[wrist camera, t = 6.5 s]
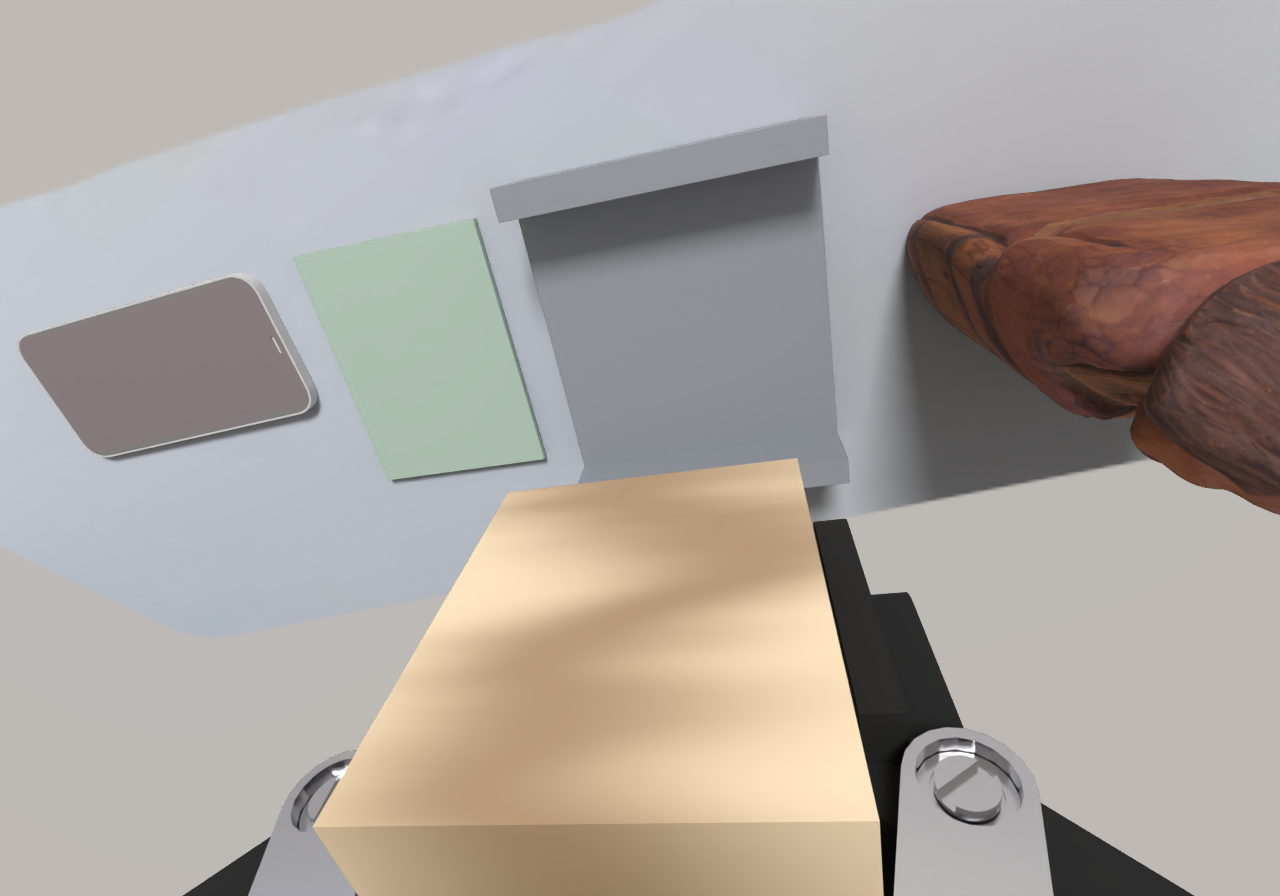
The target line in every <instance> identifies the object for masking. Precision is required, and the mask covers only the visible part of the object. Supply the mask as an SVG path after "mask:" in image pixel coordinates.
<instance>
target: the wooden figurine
mask: <svg viewBox="0 0 1280 896" xmlns="http://www.w3.org/2000/svg"><path fill="white" fill-rule="evenodd" d="M907 251H908V255H909V259H910V262H911V265H912V268H913V270H914V272H915V275H916V278H917V280H918V282H919V284H920V286H921V288H922V290H923V292H924V294H925V295H926V297H927V298H928V300H929V301H930V302H931V304H932V305H933V306H934V307H935V308H936V309H937V310H938V311H939V312H940V313H941V314H942V315H943V316H944V317H945V318H946V319H947V320H948V321H949V322H950V323H951V324H952V325H953V326H955V327H956V328H958V329H959V330H960V331H961V332H963V333H964V334H965V335H967V336H968V337H970V338H971V339H973V340H974V341H976V342H977V343H979V344H980V345H982V346H983V347H984V348H986V349H987V350H989V351H990V352H992V353H993V354H995V355H996V356H998V357H999V358H1000V359H1001V360H1003V361H1004V362H1005V363H1007V364H1008V365H1009V366H1010V367H1012V368H1013V369H1014V370H1015V371H1017V372H1018V373H1019V374H1020V375H1022V376H1023V377H1024V378H1026V379H1027V380H1029V381H1030V382H1032V383H1033V384H1034V385H1036V386H1037V387H1038V388H1039V389H1040V390H1041V391H1042V392H1043V393H1045V394H1046V395H1047V396H1048V397H1050V398H1051V399H1052V400H1053V401H1055V402H1056V403H1057V404H1059V405H1060V406H1061V407H1063V408H1064V409H1066V410H1068V411H1070V412H1072V413H1074V414H1078V415H1082V416H1084V417H1086V418H1087V417H1095V418H1098V419H1101V420H1108V419H1111V418H1129V417H1133V416H1135V417H1134V420H1133V423H1132V426H1131V428H1130V432H1131V438H1132V440H1133V442H1134V444H1135V445H1136V447H1137V448H1138V449H1139V450H1140V451H1141V452H1142V453H1143V454H1144V455H1146V456H1147V457H1149V458H1150V459H1152V460H1155V461H1157V462H1159V463H1162V464H1163V465H1165V466H1166V467H1167V468H1169V469H1170V470H1171V471H1172V472H1174V473H1175V474H1176V475H1178V476H1179V477H1181V478H1182V479H1184V480H1186V481H1188V482H1190V483H1192V484H1195V485H1197V486H1201V487H1205V488H1212V489H1224V490H1228V491H1230V492H1232V493H1234V494H1236V495H1238V496H1240V497H1242V498H1244V499H1245V500H1247V501H1249V502H1250V503H1252V504H1254V505H1256V506H1258V507H1261V508H1263V509H1266V510H1268V511H1270V512H1273V513H1276V514H1279V515H1280V182H1249V181H1238V180H1173V179H1142V178H1136V179H1120V180H1109V181H1103V182H1097V183H1090V184H1083V185H1077V186H1070V187H1064V188H1058V189H1050V190H1044V191H1038V192H1030V193H1019V194H1010V195H1001V196H995V197H988V198H981V199H975V200H970V201H965V202H961V203H957V204H952V205H947V206H943V207H940V208H938V209H935V210H933V211H931V212H929V213H927V214H926V215H925V216H924V217H923V218H922V219H921V220H917V221H916V222H915V223H914V224H913V225H912V227H911V229H910V231H909V234H908V238H907Z"/></svg>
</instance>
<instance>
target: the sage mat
mask: <svg viewBox="0 0 1280 896" xmlns="http://www.w3.org/2000/svg"><path fill="white" fill-rule="evenodd" d="M293 259H294V261H295V264H296V266H297V268H298V271H299V273H300V275H301V278H302V280H303V282H304V285H305V287H306V289H307V292H308V294H309V296H310V299H311V301H312V303H313V306H314V308H315V310H316V313H317V315H318V317H319V320H320V322H321V324H322V327H323V329H324V331H325V334H326V336H327V339H328V341H329V343H330V346H331V348H332V350H333V353H334V355H335V357H336V360H337V362H338V364H339V367H340V369H341V371H342V374H343V376H344V378H345V381H346V383H347V385H348V388H349V390H350V392H351V395H352V397H353V399H354V402H355V404H356V406H357V409H358V411H359V413H360V416H361V418H362V421H363V423H364V425H365V428H366V430H367V432H368V435H369V437H370V439H371V442H372V444H373V446H374V449H375V451H376V453H377V456H378V458H379V460H380V463H381V465H382V467H383V470H384V472H385V474H386V477H387V479H388V480H394V479H401V478H408V477H416V476H423V475H431V474H438V473H445V472H453V471H460V470H468V469H475V468H482V467H490V466H497V465H505V464H512V463H519V462H527V461H534V460H542V459H545V457H546V453H545V449H544V446H543V443H542V439H541V436H540V433H539V429H538V426H537V422H536V419H535V416H534V412H533V409H532V405H531V402H530V399H529V395H528V392H527V389H526V385H525V382H524V378H523V375H522V372H521V368H520V365H519V362H518V358H517V355H516V351H515V348H514V345H513V341H512V338H511V335H510V331H509V328H508V324H507V321H506V318H505V314H504V311H503V308H502V304H501V301H500V297H499V294H498V291H497V287H496V284H495V281H494V277H493V274H492V270H491V267H490V264H489V260H488V257H487V254H486V250H485V247H484V243H483V240H482V237H481V233H480V230H479V227H478V223H477V220H476V218H475V219H471V220H466V221H461V222H456V223H452V224H447V225H442V226H437V227H433V228H428V229H423V230H418V231H414V232H409V233H404V234H399V235H395V236H390V237H385V238H380V239H376V240H371V241H366V242H362V243H357V244H352V245H347V246H343V247H338V248H333V249H328V250H324V251H319V252H314V253H309V254H305V255H300V256H296V257H293Z"/></svg>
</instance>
